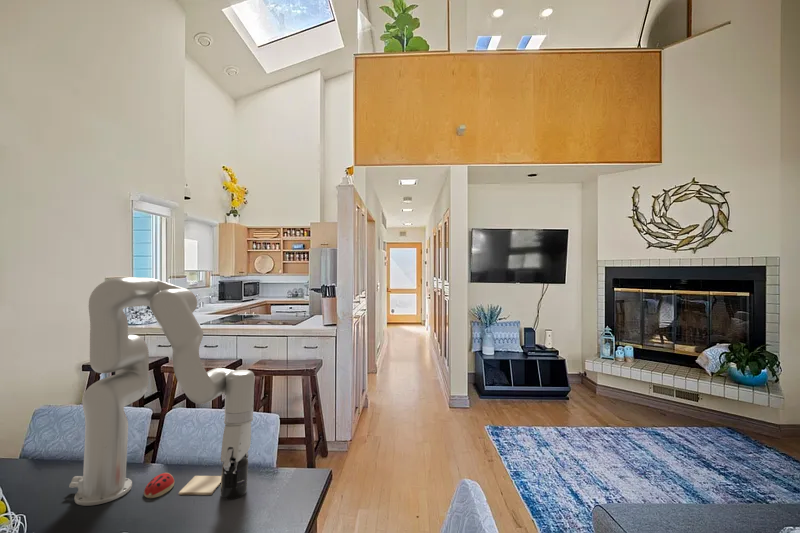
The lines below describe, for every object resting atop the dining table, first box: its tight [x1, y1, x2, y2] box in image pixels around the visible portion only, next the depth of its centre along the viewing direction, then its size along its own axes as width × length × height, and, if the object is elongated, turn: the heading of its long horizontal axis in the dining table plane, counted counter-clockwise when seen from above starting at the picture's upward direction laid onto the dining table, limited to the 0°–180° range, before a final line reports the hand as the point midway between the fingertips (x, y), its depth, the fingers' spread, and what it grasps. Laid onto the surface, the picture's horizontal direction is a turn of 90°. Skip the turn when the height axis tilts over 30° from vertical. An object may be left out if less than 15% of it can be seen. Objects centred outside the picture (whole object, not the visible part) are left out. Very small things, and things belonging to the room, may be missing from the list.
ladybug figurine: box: [143, 472, 175, 499], centre depth 108 cm, size 7×10×4 cm
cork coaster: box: [178, 475, 221, 496], centre depth 111 cm, size 9×9×1 cm
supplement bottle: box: [219, 455, 249, 501], centre depth 107 cm, size 7×7×12 cm
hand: (236, 479), depth 107 cm, fingers closed on supplement bottle, 6 cm apart
